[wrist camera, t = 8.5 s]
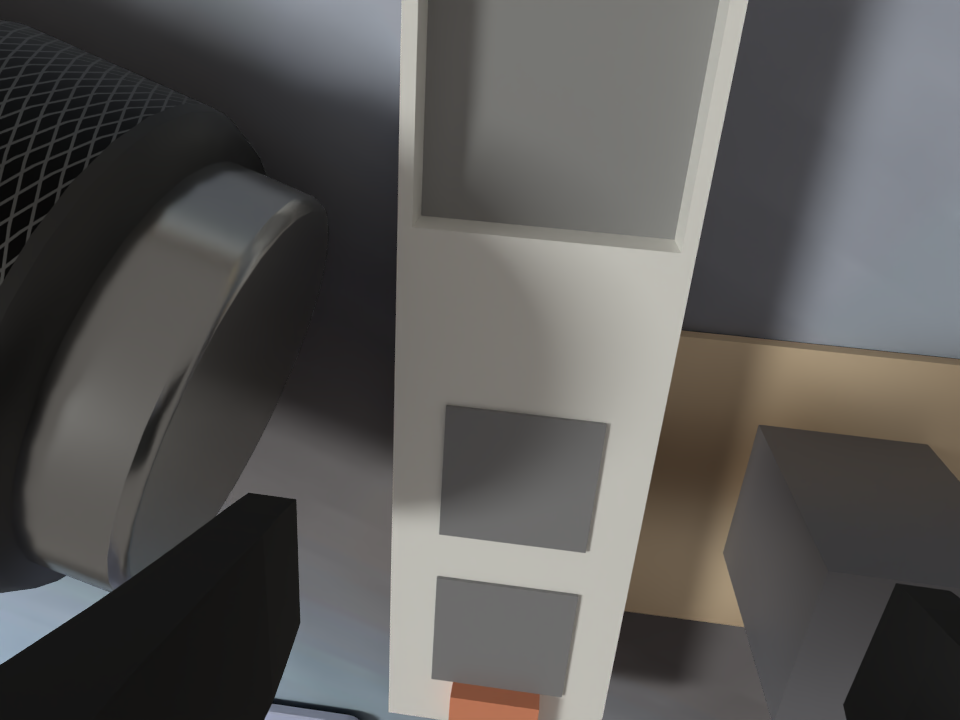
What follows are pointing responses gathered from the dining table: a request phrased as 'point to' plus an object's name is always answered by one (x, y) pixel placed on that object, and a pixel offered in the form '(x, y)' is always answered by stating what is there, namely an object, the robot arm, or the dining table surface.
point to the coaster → (731, 433)
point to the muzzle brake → (133, 311)
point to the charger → (833, 555)
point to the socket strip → (538, 330)
